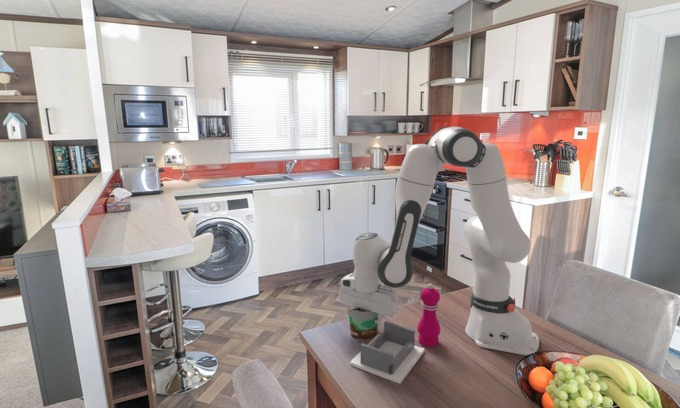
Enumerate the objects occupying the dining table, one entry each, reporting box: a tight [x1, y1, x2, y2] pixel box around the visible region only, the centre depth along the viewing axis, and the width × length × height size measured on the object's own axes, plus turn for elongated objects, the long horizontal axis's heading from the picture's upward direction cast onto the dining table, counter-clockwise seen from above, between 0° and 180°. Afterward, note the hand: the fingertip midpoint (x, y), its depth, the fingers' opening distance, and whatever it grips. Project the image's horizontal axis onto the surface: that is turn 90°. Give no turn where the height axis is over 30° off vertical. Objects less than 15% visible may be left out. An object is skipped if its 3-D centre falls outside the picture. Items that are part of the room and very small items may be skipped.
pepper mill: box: [417, 283, 441, 348], centre depth 125 cm, size 7×7×20 cm
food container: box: [346, 307, 380, 340], centre depth 130 cm, size 12×6×10 cm, turn 118°
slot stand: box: [349, 321, 425, 385], centre depth 117 cm, size 16×18×7 cm
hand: (367, 321), depth 130 cm, fingers open, 7 cm apart
